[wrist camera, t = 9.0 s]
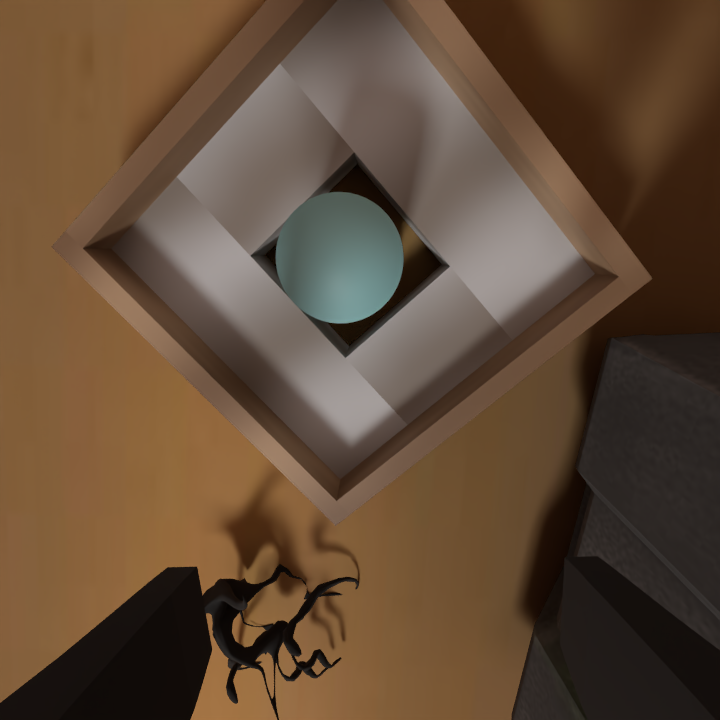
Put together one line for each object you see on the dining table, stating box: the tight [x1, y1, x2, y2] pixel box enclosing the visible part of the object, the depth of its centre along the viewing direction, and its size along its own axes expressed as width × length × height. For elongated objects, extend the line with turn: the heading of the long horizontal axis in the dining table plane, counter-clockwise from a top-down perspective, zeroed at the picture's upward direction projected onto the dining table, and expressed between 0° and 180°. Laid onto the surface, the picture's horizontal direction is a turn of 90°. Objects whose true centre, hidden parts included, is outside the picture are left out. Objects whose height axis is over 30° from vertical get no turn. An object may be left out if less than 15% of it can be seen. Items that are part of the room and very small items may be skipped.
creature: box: [203, 565, 359, 720], centre depth 19 cm, size 8×5×8 cm
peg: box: [276, 192, 403, 323], centre depth 14 cm, size 3×3×6 cm
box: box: [52, 0, 653, 526], centre depth 15 cm, size 13×13×4 cm
